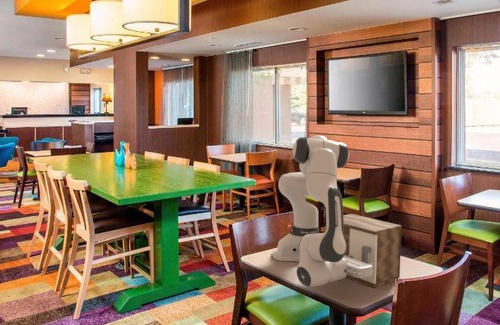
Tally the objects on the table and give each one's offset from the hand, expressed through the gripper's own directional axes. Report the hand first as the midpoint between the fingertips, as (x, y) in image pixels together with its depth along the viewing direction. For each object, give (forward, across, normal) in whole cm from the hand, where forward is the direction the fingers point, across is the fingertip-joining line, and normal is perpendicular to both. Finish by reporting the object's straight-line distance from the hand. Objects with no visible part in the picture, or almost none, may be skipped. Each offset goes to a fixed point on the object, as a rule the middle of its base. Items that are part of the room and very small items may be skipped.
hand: (361, 260), depth 180 cm
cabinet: (+13, +10, +11) cm, 20 cm away
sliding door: (+3, +4, +9) cm, 11 cm away
